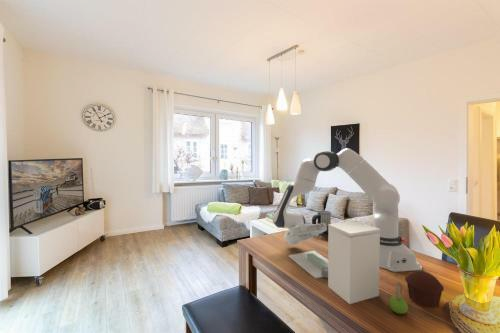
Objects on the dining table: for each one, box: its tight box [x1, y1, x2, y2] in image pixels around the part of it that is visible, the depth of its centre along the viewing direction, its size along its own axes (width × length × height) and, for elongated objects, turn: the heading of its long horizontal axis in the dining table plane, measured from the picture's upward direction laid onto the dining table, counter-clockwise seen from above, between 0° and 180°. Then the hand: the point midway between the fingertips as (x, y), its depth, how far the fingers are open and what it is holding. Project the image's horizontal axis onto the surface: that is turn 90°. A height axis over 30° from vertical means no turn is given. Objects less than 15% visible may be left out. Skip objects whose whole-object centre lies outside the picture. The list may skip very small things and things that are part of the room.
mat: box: [288, 250, 328, 280], centre depth 116 cm, size 24×16×1 cm, turn 20°
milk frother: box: [311, 210, 332, 237], centre depth 155 cm, size 14×16×15 cm
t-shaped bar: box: [307, 253, 328, 279], centre depth 111 cm, size 18×8×3 cm, turn 20°
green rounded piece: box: [388, 281, 409, 315], centre depth 80 cm, size 5×6×12 cm
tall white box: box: [327, 220, 380, 305], centre depth 92 cm, size 12×14×26 cm
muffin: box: [405, 270, 444, 309], centre depth 86 cm, size 12×11×10 cm
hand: (315, 226), depth 115 cm, fingers open, 8 cm apart
